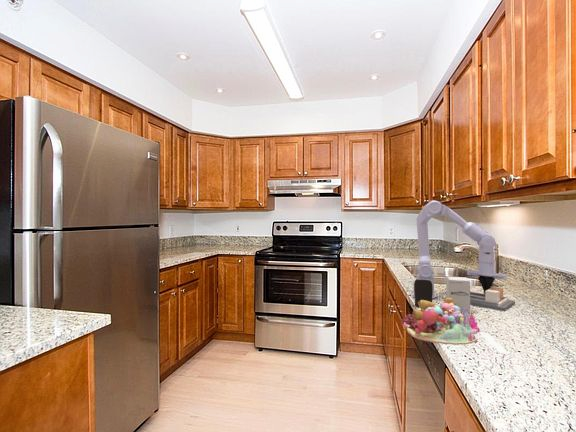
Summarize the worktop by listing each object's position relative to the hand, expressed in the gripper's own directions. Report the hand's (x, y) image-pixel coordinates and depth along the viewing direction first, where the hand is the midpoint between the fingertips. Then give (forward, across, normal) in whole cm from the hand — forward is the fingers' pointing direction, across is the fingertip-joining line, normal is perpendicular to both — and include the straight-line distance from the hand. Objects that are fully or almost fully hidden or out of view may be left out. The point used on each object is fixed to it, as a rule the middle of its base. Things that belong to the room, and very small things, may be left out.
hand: (486, 294), depth 133 cm
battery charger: (+3, +15, +27) cm, 31 cm away
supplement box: (+3, +4, +22) cm, 23 cm away
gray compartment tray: (+3, 0, +3) cm, 4 cm away
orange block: (+2, -4, 0) cm, 4 cm away
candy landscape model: (+4, 0, +47) cm, 48 cm away
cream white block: (+2, -4, +7) cm, 8 cm away
